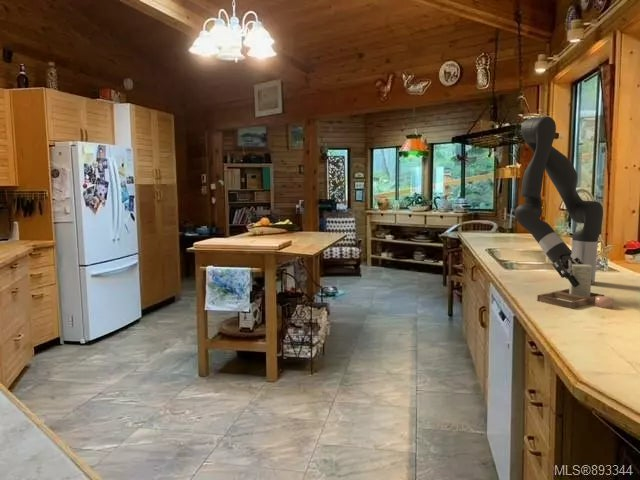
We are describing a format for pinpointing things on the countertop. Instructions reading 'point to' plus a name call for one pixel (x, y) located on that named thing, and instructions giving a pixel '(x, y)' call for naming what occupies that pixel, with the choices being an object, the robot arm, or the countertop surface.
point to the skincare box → (581, 279)
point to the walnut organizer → (567, 299)
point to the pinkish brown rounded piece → (603, 302)
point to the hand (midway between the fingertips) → (583, 284)
